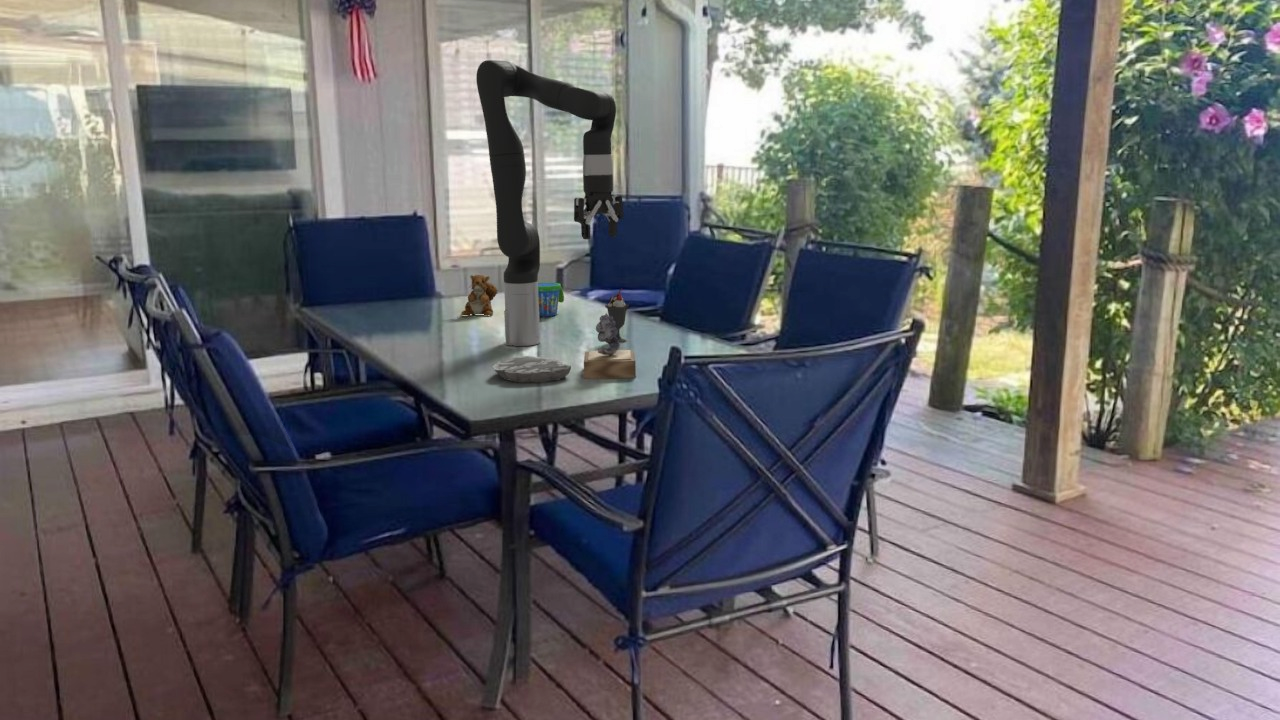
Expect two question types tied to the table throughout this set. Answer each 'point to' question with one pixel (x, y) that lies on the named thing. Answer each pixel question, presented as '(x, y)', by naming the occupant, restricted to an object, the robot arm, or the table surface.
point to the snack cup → (549, 298)
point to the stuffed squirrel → (480, 296)
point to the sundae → (617, 312)
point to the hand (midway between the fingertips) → (599, 237)
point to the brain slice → (531, 369)
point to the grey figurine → (607, 334)
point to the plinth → (609, 365)
